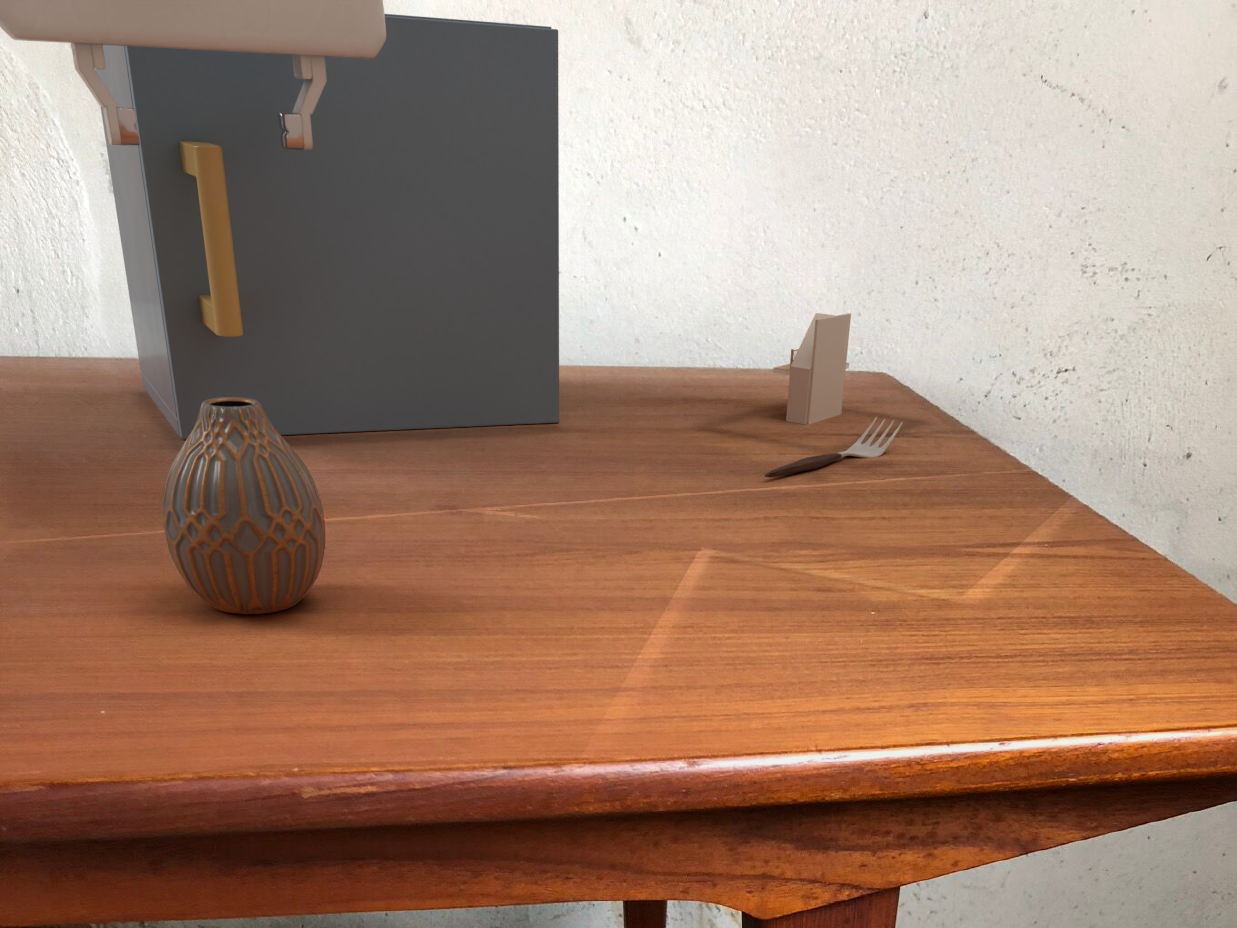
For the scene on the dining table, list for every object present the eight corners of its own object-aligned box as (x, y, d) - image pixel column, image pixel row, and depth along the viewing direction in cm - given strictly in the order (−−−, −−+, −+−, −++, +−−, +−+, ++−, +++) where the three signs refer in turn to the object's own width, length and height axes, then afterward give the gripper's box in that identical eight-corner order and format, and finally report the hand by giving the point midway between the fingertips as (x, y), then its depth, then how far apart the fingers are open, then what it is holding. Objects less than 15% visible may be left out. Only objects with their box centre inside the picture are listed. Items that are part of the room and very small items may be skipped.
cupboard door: (589, 439, 96) (593, 28, 83) (196, 459, 85) (132, -9, 72) (554, 420, 101) (553, 29, 88) (179, 436, 90) (117, -5, 78)
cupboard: (553, 421, 101) (551, 26, 88) (179, 438, 90) (116, -8, 78) (476, 377, 115) (464, 30, 102) (143, 387, 104) (84, 1, 91)
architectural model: (768, 419, 106) (776, 314, 102) (810, 407, 111) (818, 307, 107) (807, 425, 104) (816, 320, 100) (847, 413, 109) (858, 312, 105)
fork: (747, 480, 88) (750, 448, 87) (870, 444, 99) (874, 416, 98) (781, 487, 87) (784, 455, 86) (902, 451, 98) (905, 422, 97)
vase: (295, 632, 60) (273, 423, 55) (147, 617, 61) (113, 409, 56) (354, 586, 66) (338, 394, 61) (218, 572, 67) (192, 382, 62)
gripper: (359, -134, 77) (379, 149, 84) (-46, -179, 68) (15, 139, 76) (390, -148, 72) (408, 154, 79) (-42, -197, 64) (22, 144, 71)
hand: (213, 147), depth 77 cm, fingers open, 8 cm apart
